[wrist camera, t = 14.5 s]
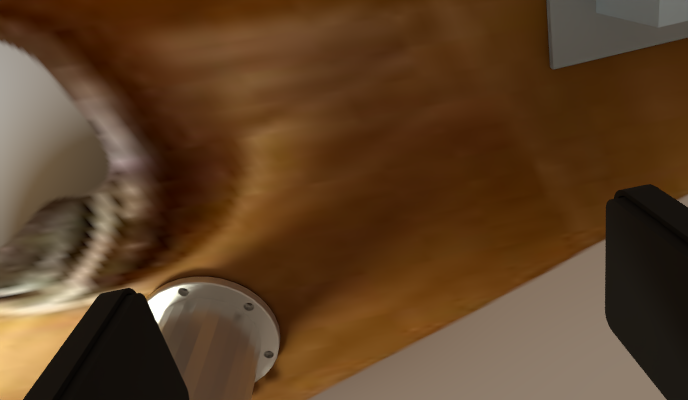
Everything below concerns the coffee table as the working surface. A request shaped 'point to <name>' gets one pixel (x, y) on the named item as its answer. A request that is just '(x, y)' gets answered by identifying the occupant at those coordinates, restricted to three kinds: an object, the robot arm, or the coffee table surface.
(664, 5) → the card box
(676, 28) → the mat
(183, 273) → the coffee table surface
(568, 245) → the coffee table surface
